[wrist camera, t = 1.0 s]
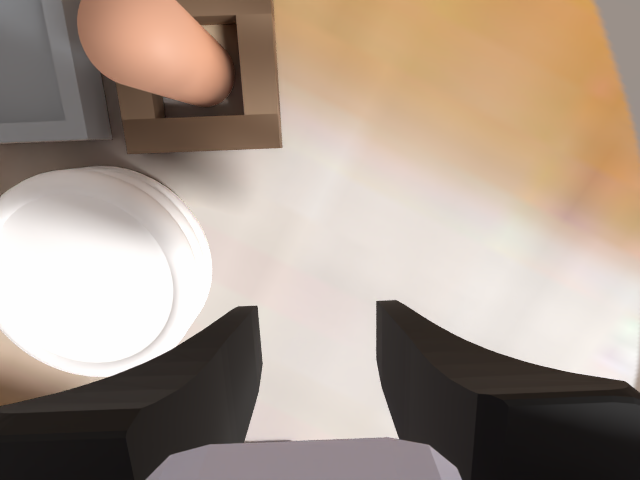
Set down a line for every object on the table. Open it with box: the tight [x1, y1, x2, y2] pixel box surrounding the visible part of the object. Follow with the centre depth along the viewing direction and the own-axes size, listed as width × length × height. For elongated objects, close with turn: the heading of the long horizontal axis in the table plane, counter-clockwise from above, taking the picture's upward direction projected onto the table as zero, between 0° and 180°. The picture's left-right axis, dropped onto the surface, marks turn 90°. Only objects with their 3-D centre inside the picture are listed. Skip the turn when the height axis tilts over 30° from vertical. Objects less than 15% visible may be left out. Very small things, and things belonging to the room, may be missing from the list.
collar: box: [116, 0, 282, 154], centre depth 17 cm, size 7×7×1 cm
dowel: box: [77, 0, 235, 107], centre depth 14 cm, size 3×3×7 cm
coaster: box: [0, 166, 212, 377], centre depth 18 cm, size 10×10×4 cm
